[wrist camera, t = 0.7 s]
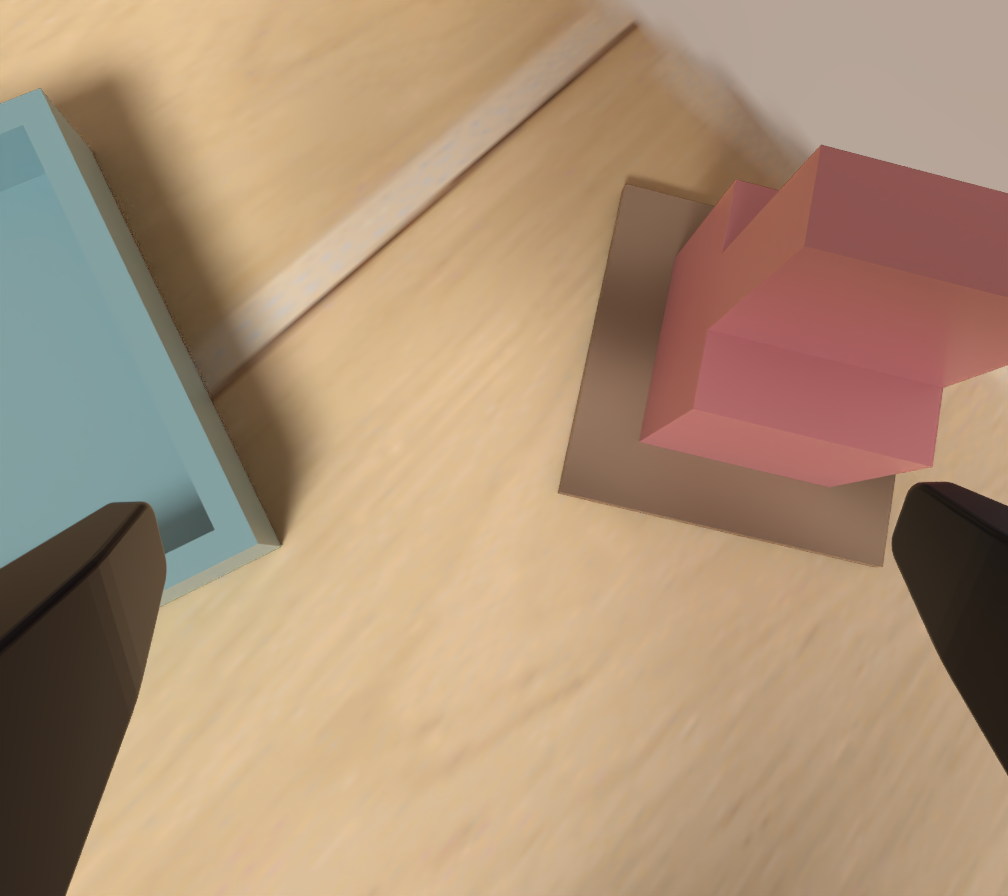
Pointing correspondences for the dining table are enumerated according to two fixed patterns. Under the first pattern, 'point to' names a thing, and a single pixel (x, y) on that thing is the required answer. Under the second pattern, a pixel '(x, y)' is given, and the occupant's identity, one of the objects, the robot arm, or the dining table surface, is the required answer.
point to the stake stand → (676, 475)
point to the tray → (101, 371)
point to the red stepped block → (830, 320)
